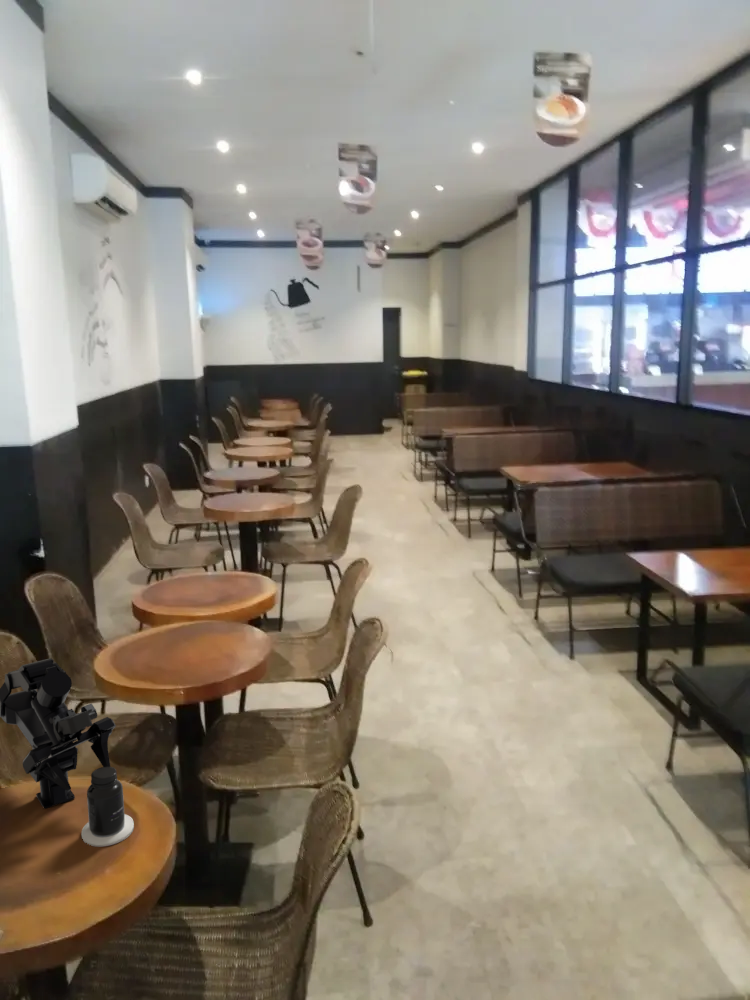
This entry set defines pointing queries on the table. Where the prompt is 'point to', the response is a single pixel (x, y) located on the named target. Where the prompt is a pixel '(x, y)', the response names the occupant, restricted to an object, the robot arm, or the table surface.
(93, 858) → the table surface
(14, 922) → the table surface
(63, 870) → the table surface
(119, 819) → the supplement bottle
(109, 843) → the coaster
